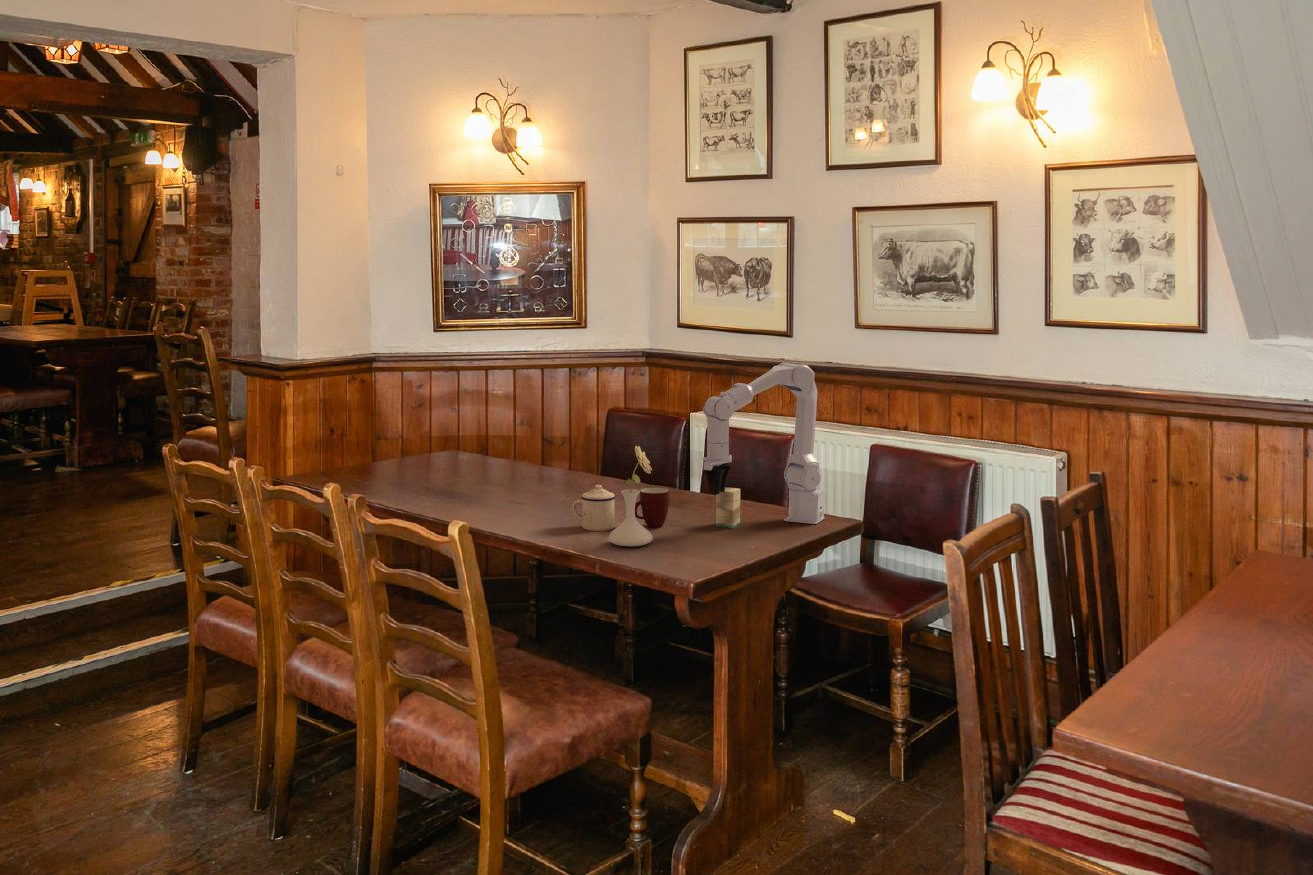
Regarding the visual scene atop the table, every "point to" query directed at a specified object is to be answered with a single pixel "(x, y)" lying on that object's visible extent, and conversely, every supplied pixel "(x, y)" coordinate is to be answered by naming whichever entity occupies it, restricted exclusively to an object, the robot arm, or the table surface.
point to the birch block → (728, 508)
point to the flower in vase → (632, 512)
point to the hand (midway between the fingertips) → (717, 492)
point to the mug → (653, 506)
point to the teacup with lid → (597, 509)
